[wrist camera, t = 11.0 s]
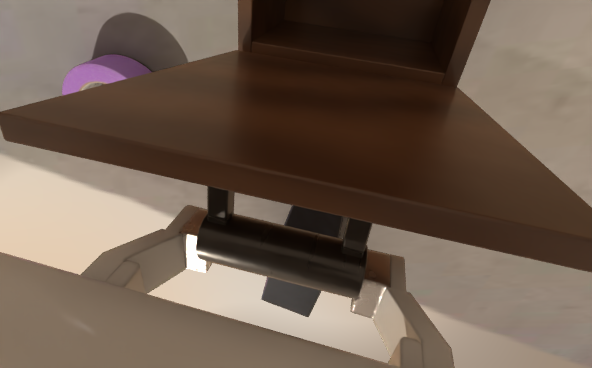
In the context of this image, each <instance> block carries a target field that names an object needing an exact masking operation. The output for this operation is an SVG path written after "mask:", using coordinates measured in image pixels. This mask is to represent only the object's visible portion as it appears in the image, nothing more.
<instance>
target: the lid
mask: <svg viewBox="0 0 592 368" xmlns="http://www.w3.org/2000/svg"><path fill="white" fill-rule="evenodd" d="M0 127H1V130H2V134H3V137H4V139H5V140H6V141H10V142H14V143H19V144H23V145H28V146H32V147H37V148H41V149H45V150H50V151H54V152H59V153H63V154H68V155H72V156H77V157H81V158H85V159H90V160H94V161H99V162H103V163H108V164H112V165H117V166H121V167H125V168H130V169H134V170H139V171H143V172H148V173H152V174H157V175H161V176H165V177H170V178H174V179H179V180H183V181H188V182H192V183H197V184H201V185H205V186H208V213H207V214H206V216H205V217H204V219H203V221H202V223H201V226H200V228H199V231H198V235H197V240H196V255H197V257H198V258H199V259H200V260H204V261H208V262H212V263H216V264H220V265H224V266H228V267H231V268H236V269H239V270H243V271H247V272H252V273H255V274H259V275H263V276H267V277H271V278H274V279H278V280H282V281H286V282H290V283H294V284H298V285H302V286H306V287H310V288H314V289H318V290H321V291H326V292H329V293H333V294H338V295H342V296H345V297H349V298H353V299H357V298H358V296H359V294H360V292H361V288H362V285H363V281H364V276H365V271H366V265H367V257H368V247H367V245H366V244H367V241H368V237H369V234H370V230H371V227H372V223H374V224H379V225H383V226H387V227H392V228H396V229H401V230H405V231H410V232H414V233H419V234H423V235H427V236H432V237H436V238H441V239H445V240H450V241H454V242H459V243H463V244H467V245H472V246H476V247H481V248H485V249H490V250H494V251H499V252H503V253H507V254H512V255H516V256H521V257H525V258H530V259H534V260H538V261H543V262H547V263H552V264H556V265H561V266H565V267H570V268H574V269H578V270H583V271H587V272H592V208H591V207H590V206H589V205H588V204H587V203H586V202H585V201H584V200H582V199H581V198H580V197H579V196H578V195H577V194H576V193H575V192H574V191H572V190H571V189H570V188H569V187H568V186H567V185H566V184H565V183H564V182H562V181H561V180H560V179H559V178H558V177H557V176H556V175H555V174H554V173H552V172H551V171H550V170H549V169H548V168H547V167H546V166H545V165H544V164H542V163H541V162H540V161H539V160H538V159H537V158H536V157H535V156H533V155H532V154H531V153H530V152H529V151H528V150H527V149H526V148H525V147H523V146H522V145H521V144H520V143H519V142H518V141H517V140H516V139H515V138H513V137H512V136H511V135H510V134H509V133H508V132H507V131H506V130H505V129H503V128H502V127H501V126H500V125H499V124H498V123H497V122H496V121H495V120H493V119H492V118H491V117H490V116H489V115H488V114H487V113H486V112H485V111H483V110H482V109H481V108H480V107H479V106H478V105H477V104H476V103H474V102H473V101H472V100H471V99H470V98H469V97H468V96H467V95H466V94H464V93H463V92H462V91H461V90H460V89H459V88H458V87H452V86H446V85H440V84H434V83H428V82H422V81H416V80H410V79H405V78H399V77H393V76H387V75H381V74H375V73H369V72H363V71H357V70H351V69H345V68H339V67H333V66H327V65H322V64H316V63H310V62H304V61H298V60H292V59H286V58H280V57H274V56H268V55H262V54H256V53H250V52H244V51H238V50H235V51H232V52H228V53H224V54H220V55H216V56H212V57H209V58H205V59H201V60H197V61H193V62H189V63H186V64H182V65H178V66H174V67H170V68H166V69H162V70H159V71H155V72H151V73H147V74H143V75H139V76H136V77H132V78H128V79H124V80H120V81H116V82H113V83H109V84H105V85H101V86H97V87H93V88H90V89H86V90H82V91H78V92H74V93H70V94H67V95H63V96H59V97H55V98H51V99H47V100H44V101H40V102H36V103H32V104H28V105H24V106H21V107H17V108H13V109H9V110H5V111H1V112H0ZM234 192H236V193H241V194H245V195H250V196H254V197H259V198H263V199H268V200H272V201H276V202H281V203H285V204H290V205H294V206H299V207H303V208H308V209H312V210H316V211H321V212H325V213H330V214H334V215H339V216H343V217H348V220H347V224H346V228H345V232H344V236H343V239H340V238H336V237H331V236H327V235H323V234H319V233H314V232H310V231H306V230H301V229H297V228H293V227H289V226H284V225H280V224H276V223H272V222H267V221H263V220H259V219H254V218H250V217H246V216H242V215H237V214H234Z"/></svg>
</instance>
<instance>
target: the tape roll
mask: <svg viewBox="0 0 592 368" xmlns="http://www.w3.org/2000/svg"><path fill="white" fill-rule="evenodd" d="M147 73H151V71H150V70H149V69H148V68H147V67H145V66H144V65H142V64H141V63H139V62H137V61H136V60H134V59H131V58H129V57H126V56H122V55H116V54H110V55H104V56H101V57H98V58H96V59H93V60H91V61H88V62H85V63H83V64H80V65H78V66H76V67H74V68H72V69H71V70H70V71H69V72H68V73H67V75H66V77H65V79H64V82H63V88H62V95H67V94H70V93H74V92H78V91H82V90H86V89H90V88H93V87H97V86H101V85H102V83H104V84H109V83H113V82H116V81H120V80H124V79H128V78H132V77H136V76H139V75H143V74H147Z"/></svg>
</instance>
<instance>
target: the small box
mask: <svg viewBox="0 0 592 368" xmlns="http://www.w3.org/2000/svg"><path fill="white" fill-rule="evenodd" d="M342 221H343V216H339V215H334V214H330V213H325V212H321V211H316V210H312V209H308V208H303V207H299V206H294V205H292V207H291V210H290V212H289V215H288V217H287V219H286V222H285V224H284V226H289V227H293V228H297V229H301V230H306V231H310V232H314V233H319V234H323V235H327V236H331V237H336V238H339V236H340V230H341V225H342ZM320 293H321V290H318V289H314V288H310V287H306V286H302V285H298V284H294V283H290V282H286V281H282V280H278V279H274V278H271V277H267V280H266V283H265V287H264V291H263V295H262V300H264V301H266V302H269V303H272V304H274V305H277V306H280V307H282V308H285V309H288V310H290V311H293V312H296V313H298V314H301V315H303V316H306V317H309V315H310V313H311V311H312V309H313V307H314V305H315V303H316V301H317V299H318V297H319V295H320Z"/></svg>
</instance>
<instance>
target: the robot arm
mask: <svg viewBox="0 0 592 368" xmlns="http://www.w3.org/2000/svg"><path fill="white" fill-rule="evenodd" d="M207 213H208V210H207V209H204V208H199V207H195V206H192V205H187V206H185V207H184V209H183V210H182V211H181V212H180V213H179V214H178V216H177V217H176V218H175V219H174V220H173V221H172V223H171V224H170V225H169V226H168V227H167V228H166V230H164V229H160V230H158V231H155V232H153V233H151V234H148V235H146V236H143V237H141V238H138V239H135V240H133V241H130V242H128V243H126V244H123V245H121V246H118V247H115V248H113V249H111V250H109V251H106V252H103V253H102V254H101V255H100V256H99V257H98V258H97V259H96V260H95V261H94V262H93V263H92V264H91V265H90V266H89V267H88V268H87V269H86V270H85V271H84V272H83V273H82V274H81V275H78V274H74V273H71V272H67V271H64V270H61V269H57V268H54V267H50V266H47V265H43V264H40V263H36V262H33V261H30V260H26V259H23V258H19V257H15V256H12V255H9V254H5V253H1V252H0V368H454V362H453V356H452V350H451V347H450V346H449V345H448V343H447V342H446V341H445V340H444V338H443V337H442V336H441V334H440V333H439V331H438V330H437V328H436V327H435V326H434V324H433V323H432V322H431V320H430V319H429V318H428V316H427V315H426V314H425V312H424V311H423V309H422V308H421V307H420V305H419V304H418V303H417V301H416V300H415V299H414V297H413V296H412V294H411V293H409V292H406V278H405V260H404V258H403V257H400V256H396V255H392V254H390V255H389V254H387V253H382V252H378V251H374V250H370V249H368V257H367V265H366V271H365V276H364V281H363V285H362V288H361V292H360V294H359V296H358V298H357V299H353V298H352V302H351V312H352V313H355V314H359V315H362V316H365V317H369V318H372V319H373V321H374V323H375V325H376V327H377V330H378V332H379V334H380V335H381V338H382V340H383V342H384V344H385V346H386V348H387V350H388V353H389V355H390V357H391V358H390V360H389V362H388V363H384V362H381V361H377V360H374V359H370V358H367V357H363V356H360V355H356V354H353V353H350V352H346V351H343V350H339V349H335V348H332V347H329V346H325V345H321V344H318V343H315V342H311V341H307V340H304V339H301V338H297V337H294V336H290V335H287V334H283V333H280V332H276V331H273V330H270V329H266V328H263V327H259V326H256V325H252V324H249V323H245V322H242V321H238V320H235V319H231V318H228V317H224V316H221V315H217V314H214V313H210V312H207V311H203V310H200V309H196V308H193V307H190V306H186V305H183V304H179V303H175V302H172V301H169V300H165V299H161V298H158V297H155V296H151V295H148V294H147V293H149V292H150V291H152V290H154V289H155V288H157V287H158V286H160V285H161V284H163V283H165V282H166V281H168V280H169V279H171V278H172V277H174V276H176V275H177V274H179V273H180V272H182V271H183V270H185V269H186V268H188V269H192V270H196V271H200V272H205V273H206V272H207V271H208V269H209V268H210V266H211V264H212V262H208V261H204V260H200V259H199V258H198V257H197V255H196V240H197V235H198V231H199V228H200V226H201V223H202V221H203V219H204V217H205V216H206V214H207Z"/></svg>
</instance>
